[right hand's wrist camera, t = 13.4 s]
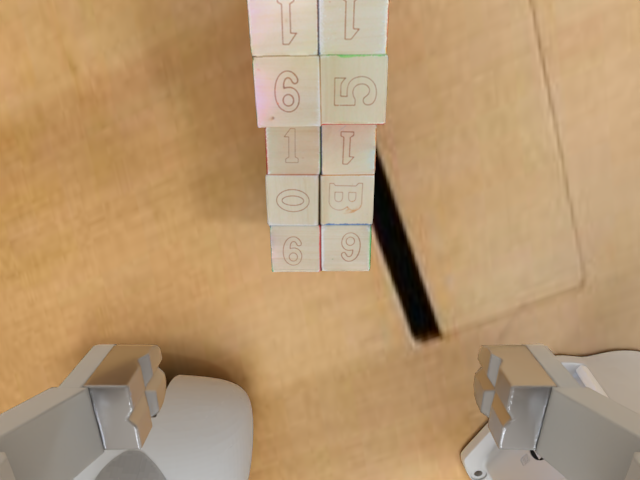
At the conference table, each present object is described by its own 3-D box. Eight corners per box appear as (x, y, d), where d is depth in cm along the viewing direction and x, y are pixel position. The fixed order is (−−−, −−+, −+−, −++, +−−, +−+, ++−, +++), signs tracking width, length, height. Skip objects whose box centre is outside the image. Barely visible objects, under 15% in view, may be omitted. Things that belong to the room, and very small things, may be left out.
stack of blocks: (356, 223, 34) (376, 298, 22) (280, 223, 34) (261, 298, 22) (369, -96, 26) (409, -230, 15) (269, -97, 26) (232, -232, 14)
